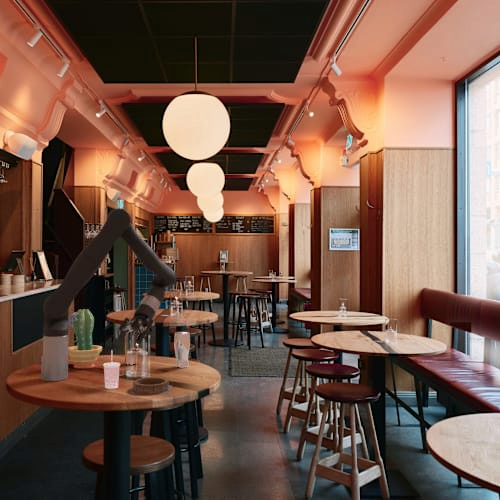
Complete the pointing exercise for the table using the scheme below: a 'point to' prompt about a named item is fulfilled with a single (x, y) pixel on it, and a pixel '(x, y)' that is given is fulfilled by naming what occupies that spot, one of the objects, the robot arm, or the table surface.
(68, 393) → the table surface
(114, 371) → the beverage cup
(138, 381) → the bowl
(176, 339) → the beer glass
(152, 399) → the table surface
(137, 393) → the mat
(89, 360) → the potted cactus
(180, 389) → the table surface
